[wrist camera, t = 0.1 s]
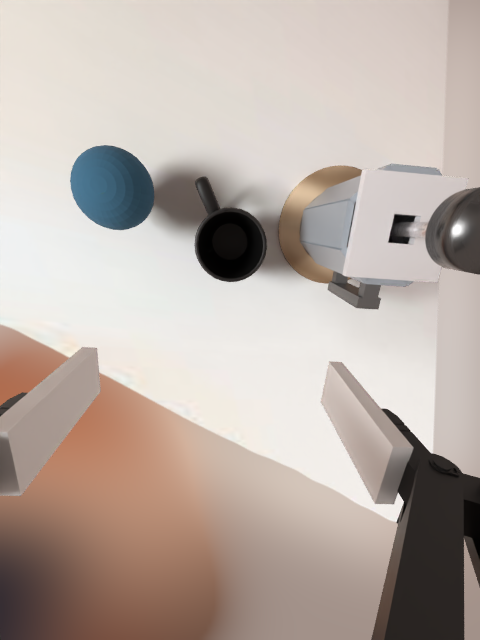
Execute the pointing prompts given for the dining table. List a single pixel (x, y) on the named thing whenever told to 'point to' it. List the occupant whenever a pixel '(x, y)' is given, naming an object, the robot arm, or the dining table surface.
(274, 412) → the dining table surface
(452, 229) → the plunger
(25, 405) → the robot arm
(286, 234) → the cork trivet
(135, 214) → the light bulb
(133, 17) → the dining table surface
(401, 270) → the carafe
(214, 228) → the mug
